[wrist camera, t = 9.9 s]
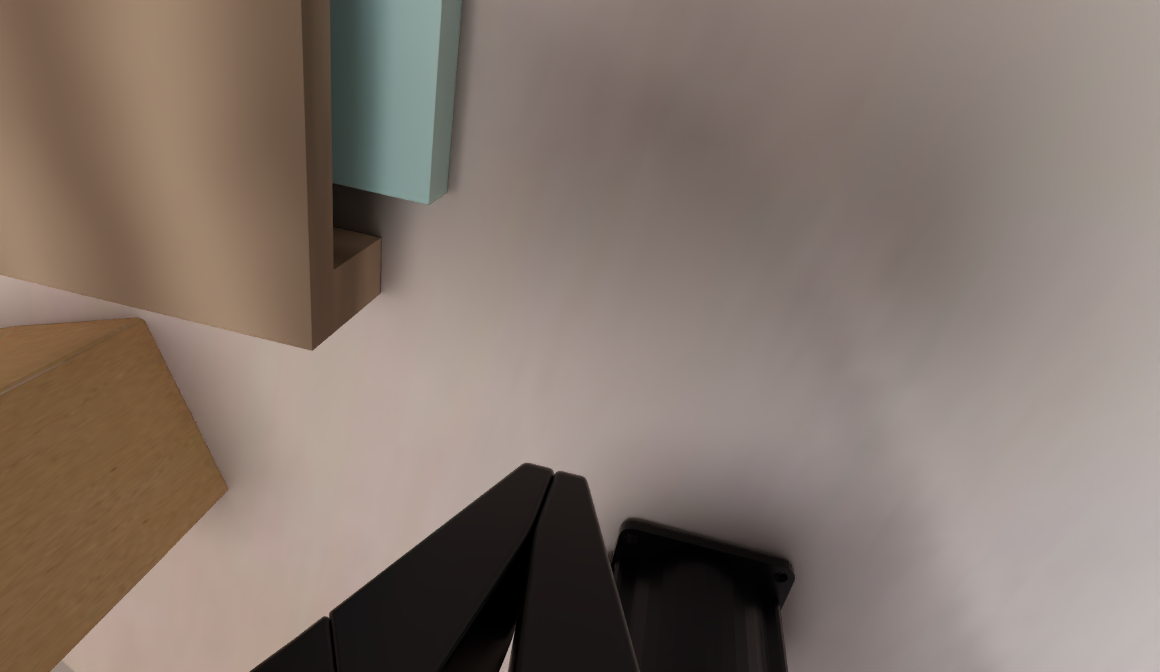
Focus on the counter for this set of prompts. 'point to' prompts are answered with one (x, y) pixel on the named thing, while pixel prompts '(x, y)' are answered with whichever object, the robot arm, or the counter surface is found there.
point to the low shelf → (179, 162)
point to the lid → (393, 95)
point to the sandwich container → (88, 479)
